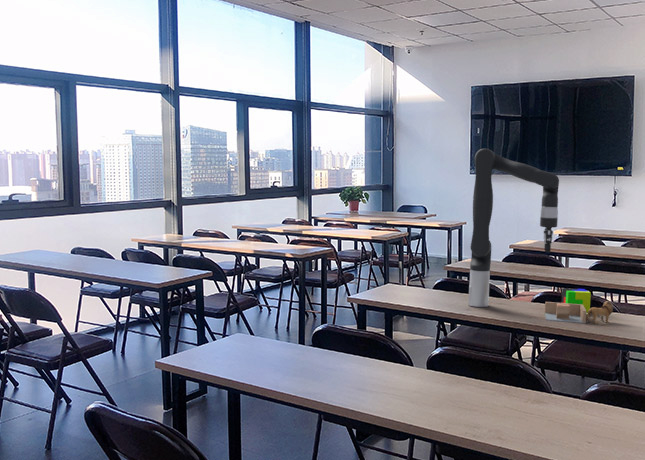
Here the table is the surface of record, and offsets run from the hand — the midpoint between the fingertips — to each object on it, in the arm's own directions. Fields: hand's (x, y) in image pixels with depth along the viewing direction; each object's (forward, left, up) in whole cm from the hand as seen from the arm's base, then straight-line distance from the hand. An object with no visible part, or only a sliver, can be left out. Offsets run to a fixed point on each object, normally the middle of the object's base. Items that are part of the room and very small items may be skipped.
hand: (547, 251), depth 290 cm
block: (+7, -14, -28) cm, 32 cm away
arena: (+8, -13, -28) cm, 32 cm away
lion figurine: (+22, -15, -28) cm, 39 cm away
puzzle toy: (+14, +6, -28) cm, 32 cm away
